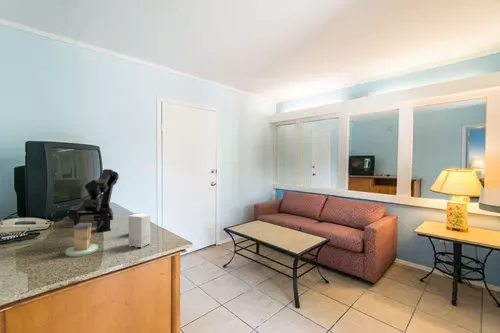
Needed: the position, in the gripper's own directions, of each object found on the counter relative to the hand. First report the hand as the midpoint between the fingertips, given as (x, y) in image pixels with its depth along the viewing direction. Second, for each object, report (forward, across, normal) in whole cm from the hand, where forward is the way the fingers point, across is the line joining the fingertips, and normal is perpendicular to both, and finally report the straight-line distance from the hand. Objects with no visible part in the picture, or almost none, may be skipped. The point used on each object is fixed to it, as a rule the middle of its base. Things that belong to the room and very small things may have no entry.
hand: (86, 228), depth 111 cm
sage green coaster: (+10, 0, +3) cm, 10 cm away
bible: (-28, -14, +43) cm, 53 cm away
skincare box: (+8, +24, +5) cm, 25 cm away
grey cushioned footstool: (+9, 0, +2) cm, 9 cm away
